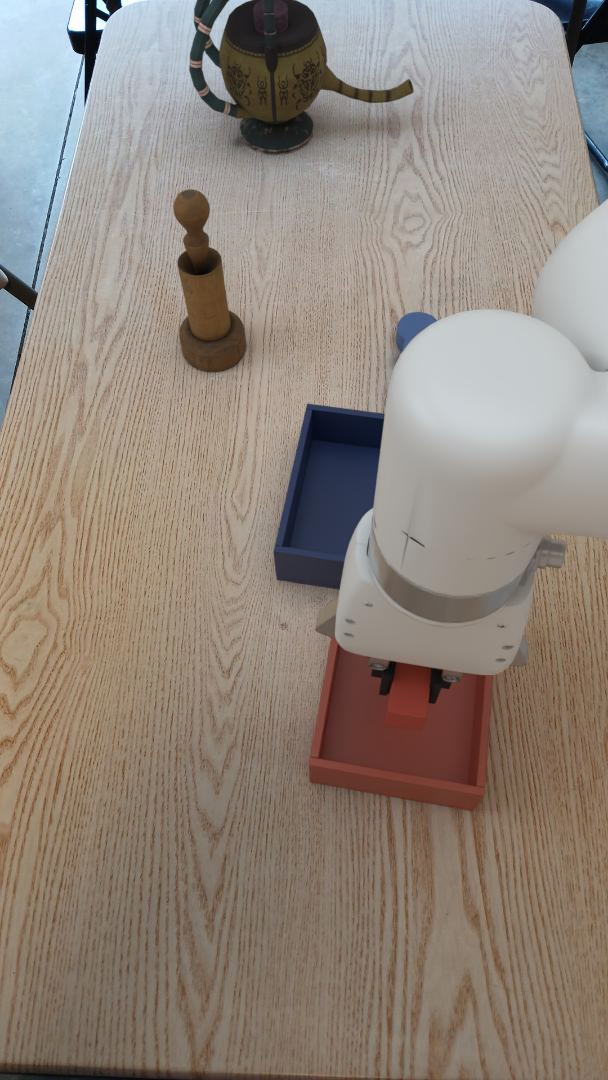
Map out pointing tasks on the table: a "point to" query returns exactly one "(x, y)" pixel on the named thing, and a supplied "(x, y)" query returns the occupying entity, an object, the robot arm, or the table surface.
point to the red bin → (400, 738)
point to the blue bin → (327, 493)
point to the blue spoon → (411, 327)
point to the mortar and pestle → (205, 293)
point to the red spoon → (409, 697)
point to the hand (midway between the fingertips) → (409, 677)
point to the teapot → (271, 71)
